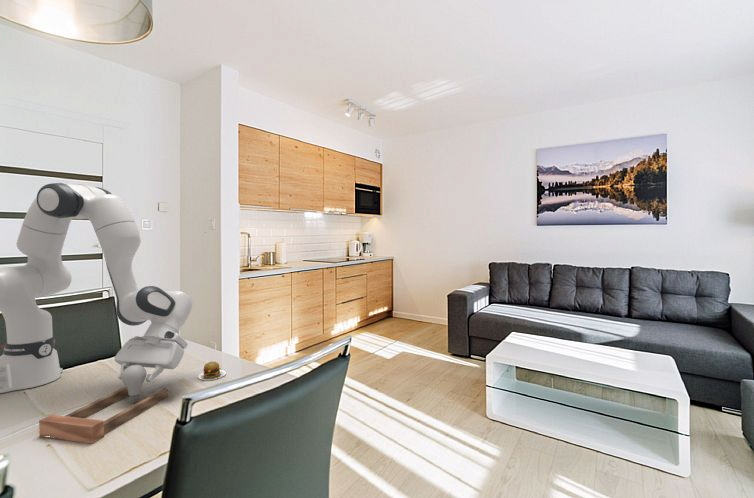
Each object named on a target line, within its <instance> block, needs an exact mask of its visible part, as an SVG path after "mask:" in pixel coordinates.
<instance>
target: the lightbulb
mask: <svg viewBox="0 0 754 498" xmlns="http://www.w3.org/2000/svg"><path fill="white" fill-rule="evenodd" d="M147 376H148V374H147V369H146V367H143V366H140V365H132V366H130V367H128V368H126V369H125V370H124V372H123V374H122V380H121V382H122V383H123V385H124V387H127V389H128V394H129V396H128V397H129V402H130V403H138V402H139V401H140V399H141V392H142V387H143V383H144V382H145V381H146V378H147Z"/></svg>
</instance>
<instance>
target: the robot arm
mask: <svg viewBox="0 0 754 498" xmlns="http://www.w3.org/2000/svg"><path fill="white" fill-rule="evenodd" d="M85 219H87V220H89V221H90V223H91V225H92V228H93V230H94V233H95V234H96V237H97V240H98V243H99V245H100V248H101V250H102V253H103V257H104V261H105V264H106V268H107V269H106V270H107V272H108V275H109V278H110V282H111V285H112V288H113V291H114V293H115V298H116V307H115V312H116V316H117V318H118V319H119V320H120V321H121V322H122V323H123V324H124V325H128V326H140V325H143V324H144V323H145V322H147V321H150V322H151V323H150V325H149V326H148V328H147V330H145V333H144V335H143V336H139V335H138V336H134V337H131V338H130V339H128V340H127V341H126V342H125V344H124V345H122V347H121V348H120V349H119V351H117V353H116V354H115V356H114V361H115V362H116V363H117V364H118V365H120V373H119V374H118V376H117V378H118V379H119V380H121V381H122V374H123V372H124V370H125V369H126V368H128V367H130V366H132V365H140V366H143V367H144V368H150V369H153V368H154V370H153V371H152V372H151V373H148V374H147V375H146V378H145V381H146V382H147V383H154V381H155V379H156V378H157V377H158V376H160V374H162V373H163V372H164V370H166V369H167V370H175V369H176V368H177V367H178V366H179V364H180V363H181V361H182V359H183V356H184V355H185V349H187V347H188V345H189V343H188V342H187V341H186V340H185V338H183V337H182V336H181V335H180V330H181V328H182V326H184V325H185V324H186V321H187V320H188V317H189V315H190V314H191V311H192V308H193V300H192V298H191V297H190V296H189V294H187V293H185V291H181V290H173V291H172V290H165V289H162V288H160V287H158V286H154V285H148V286H144V287H142V288H140V289H138V285H137V283H136V280H135V276H134V273H133V267H132V265H133V260H134V257H135V256H136V253H137V251H138V250H139V247H140V245H141V235H140V234H141V233H140V231H139V227H138V226H137V225H138V224H136V221H135V219H134V216H133V215H132V212H131V210H130V209H129V207H127V205H126V203H125V202H124V200H123V199H122V198H121V197H120V196H119V195H116V194H112V192H110V191H109V190H107V189H104V188H102V187H97V186H96V187H95V186H91V185H85V184H80V183H79V184H74V183H73V184H72V183H62V182H54V183H47V184H44V185H43V186H41V187H40V189H38V191H37V195H36V197H35V198H34V199H33V201H32V203H31V204H30V206H29V208H28V210H27V211H26V215H25V216H24V219H23V222H22V225H21V228H20V231H19V234H18V238H17V240H16V248H17V250H19V251H20V252H21V253H22V254H23V255H25V256H26V257H27V262H26V264H25V265H19V266H17V265H16V266H6V267H5V266H3V267H0V313H1V314H2V316H3V319H4V322H5V329H6V330H5V331H6V343H2V344H1V349H3V352H2V355H0V394H3V393H8V392H13V391H19V390H25V389H30V388H34V387H35V388H36V387H39V386H43V385H46V384H49V383H52V382H54V381H56V380H58V379H60V377H61V376H62V375H61V373H63V370H64V369H63V367H60V363H59V362H60V360H59V355H58V351H57V349H55V346H56V339H55V336H54V335H53V334H54V333H53V331H54V330H53V316H52V314H51V313H50V312H49V311H48V310H46V309H43V308H41V307H39V306H38V304H37V302H36V301H37V300H36V298H40V297H45V296H46V297H48V296H52V295H54V294H57V293H60V292H63V291H64V290H66V289H68V288H69V287H70V285H71V283H72V274H71V271H70V269H68V268H67V267H66V266H65V265H64V264H63V260H62V252H63V251H62V250H63V247H64V244H65V240H66V237H67V234H68V231H69V228H70V224H71V223H72V220H85Z"/></svg>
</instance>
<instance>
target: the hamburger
mask: <svg viewBox="0 0 754 498" xmlns="http://www.w3.org/2000/svg"><path fill="white" fill-rule="evenodd" d="M203 366H204V367H203V369H202V370H203V371H202V372H201V373H199V375H198V376H197V378H198V379H199V380H202V381H214V380H217V378H218V379H220V378H223V377H224V376H225V375H226V374H227V372H226V371H225V370H224V369H222V368H221V367H220V363H218V362H217V361H209V362H207V363H205V364H204V365H203ZM220 373H222V374H223V375H222V376H220ZM203 374H204V375H203ZM202 376H204V379H203V378H202ZM218 376H219V377H218ZM205 378H206V379H205Z"/></svg>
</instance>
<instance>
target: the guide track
mask: <svg viewBox="0 0 754 498" xmlns="http://www.w3.org/2000/svg"><path fill="white" fill-rule="evenodd" d="M127 397H129V394H128V389H127V387H126V386H123V387H122V388H120V389H118V390H116V391H113V392H112V393H109V394H107V395H105V396H103V397H100V398H99V399H97V400H95V401H92V402H90V403H89V404H87V405H84V406H82V407H81V408H78V409H75V410H74V411H72V412H69V413H68V414H66V415H59V414H50V415H48V416H46V417H43V418H41V419H40V420H39V421H38V424H39V427H38V429H39V437H42V438H44V437H43V436H50V437H54V438H53V439H55V438H58V440H62V439H63V440H64V441H72V442H79V443H85V444H86V443H87V444H94V443H95V442H97V441H99V440H101V439H102V438H104V437H105V435H106V434H108V433H109V432H111V431H112V430H114V429H116V428H118V427H119V426H122V425H123V424H125V423H127V422H128V421H130V420H132V419H133V418H134V417H136V416H139V415H140V414H141V413H143V412H145V411H147V410H149V409H150V408H152V407H154V406H155V405H157V404H158V403H160V402H162V401H164V400H165V399H168V398H169V388H162V389H160V390H159V391H158V390H157V391H156V392H154V393H153V394H150V395H149V396H148V397H147V396H146V397H145V398H144V399H142V400H139V401H137V402H135V403H134V404H132V405H131V406H129V407H127V408H125V409H124V410H122V411H120V412H118V413H116V414H115V415H113V416H111V417H109V418H107V419H106V420H102V419H93V418H92V419H91V418H89V417H90V416H92V415H94V414H95V413H97V412H99V411H101V410H103V409H105V408H107V407H109V406H112V405H114V404H115V403H117V402H119V401H121V400H123V399H126V398H127Z"/></svg>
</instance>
